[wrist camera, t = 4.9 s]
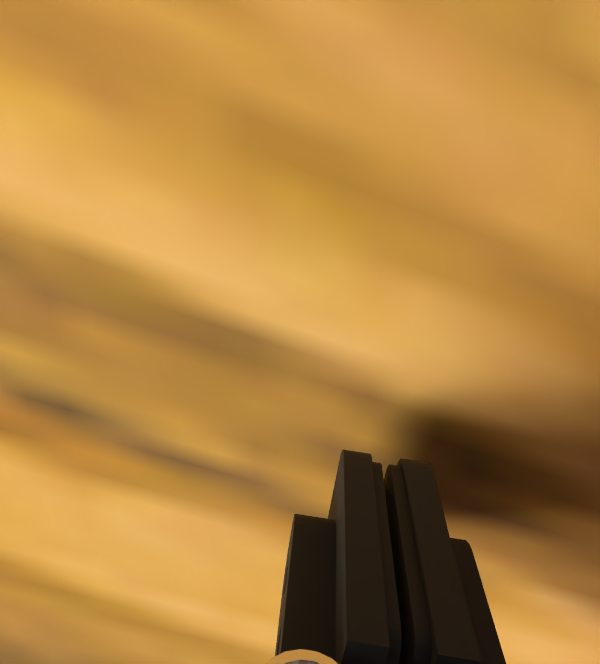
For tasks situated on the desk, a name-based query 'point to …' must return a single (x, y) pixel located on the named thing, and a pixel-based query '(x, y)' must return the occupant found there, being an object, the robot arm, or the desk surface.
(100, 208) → the desk surface
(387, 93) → the desk surface
